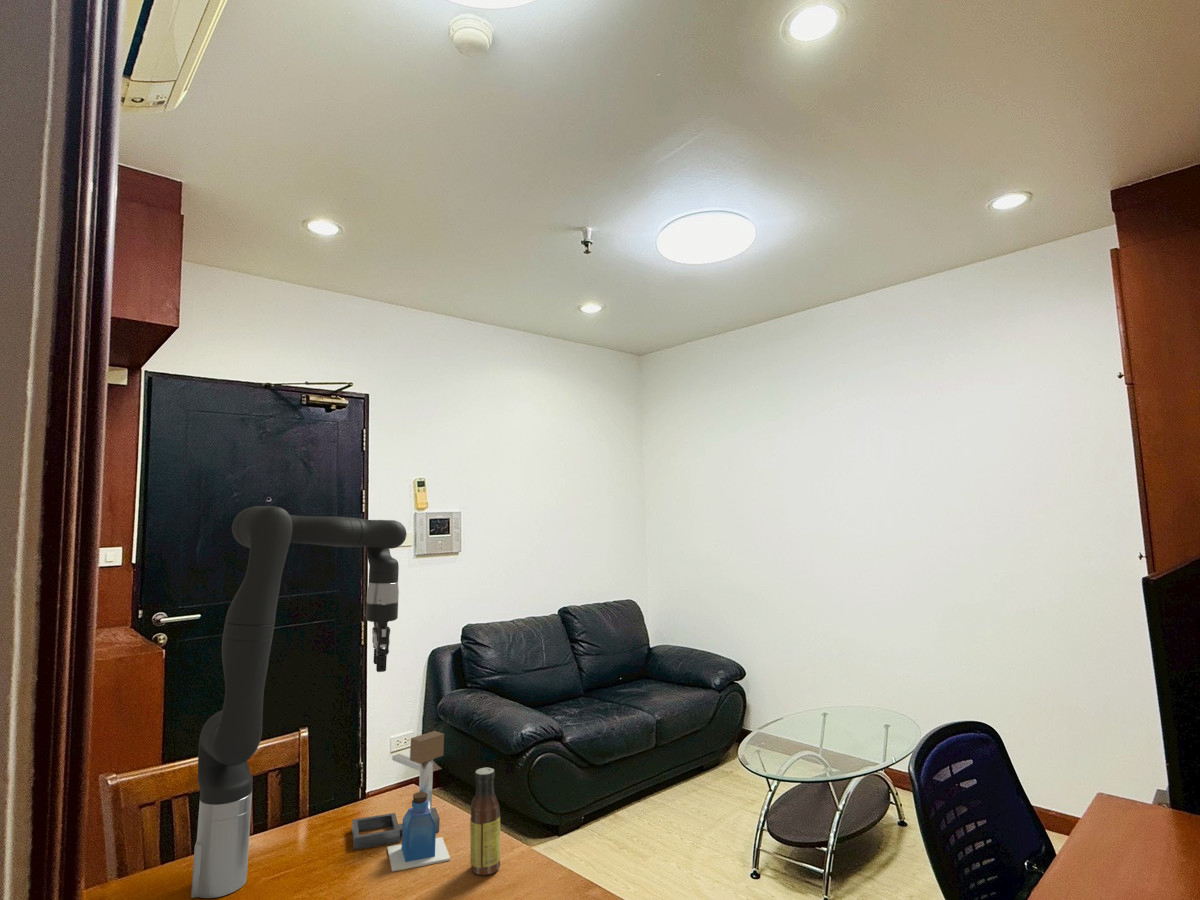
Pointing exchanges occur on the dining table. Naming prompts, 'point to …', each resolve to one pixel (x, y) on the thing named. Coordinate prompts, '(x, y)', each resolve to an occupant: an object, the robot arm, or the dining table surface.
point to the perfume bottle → (418, 830)
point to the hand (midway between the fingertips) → (379, 667)
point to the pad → (400, 864)
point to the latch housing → (383, 836)
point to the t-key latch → (424, 759)
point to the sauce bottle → (485, 825)
